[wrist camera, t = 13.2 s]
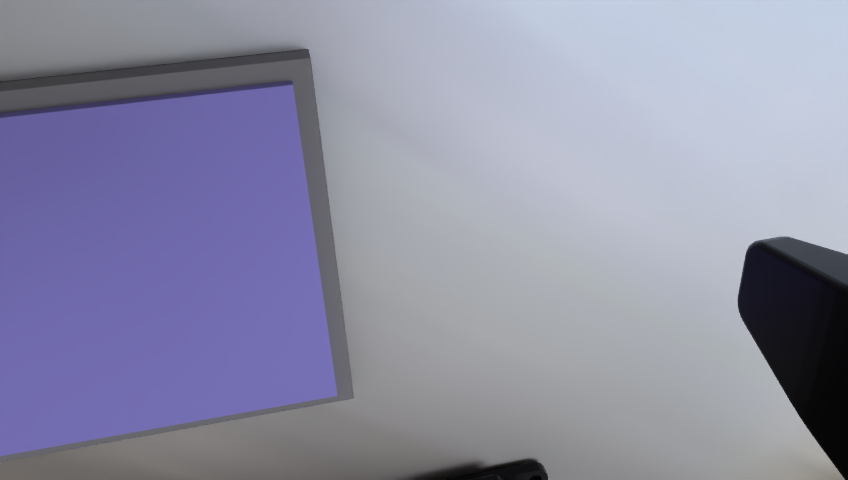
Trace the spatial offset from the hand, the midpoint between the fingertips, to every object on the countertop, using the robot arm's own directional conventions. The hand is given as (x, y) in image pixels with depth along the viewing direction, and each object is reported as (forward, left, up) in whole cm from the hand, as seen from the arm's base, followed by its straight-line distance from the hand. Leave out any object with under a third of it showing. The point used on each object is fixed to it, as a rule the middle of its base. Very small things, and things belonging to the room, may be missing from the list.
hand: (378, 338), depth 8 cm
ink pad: (-6, +5, -12) cm, 14 cm away
